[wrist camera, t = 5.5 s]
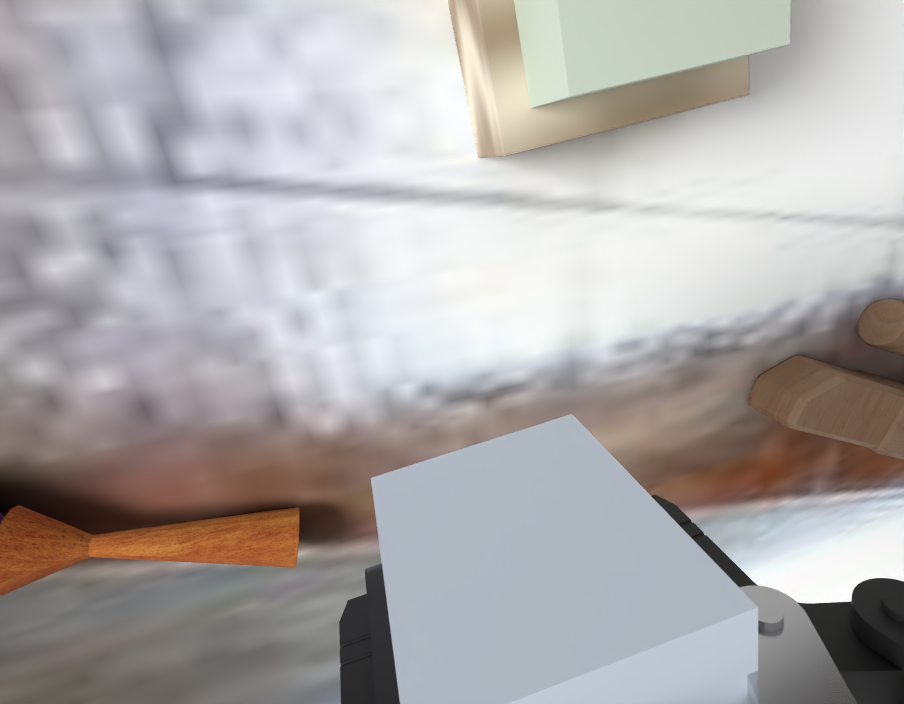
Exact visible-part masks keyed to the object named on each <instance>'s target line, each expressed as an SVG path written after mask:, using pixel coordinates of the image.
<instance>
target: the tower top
mask: <svg viewBox="0 0 904 704" xmlns="http://www.w3.org/2000/svg"><path fill="white" fill-rule="evenodd" d="M514 5H515V11H516V18H517V24H518V31H519V38H520V44H521V51H522V57H523V64H524V70H525V77H526V84H527V90H528V97H529V103H530V108H534V107H538V106H542V105H546V104H550V103H555V102H559V101H563V100H567V99H571V98H576V97H580V96H584V95H588V94H592V93H596V92H601V91H605V90H609V89H613V88H617V87H621V86H626V85H630V84H634V83H638V82H642V81H647V80H651V79H655V78H659V77H663V76H667V75H672V74H676V73H680V72H684V71H688V70H693V69H697V68H701V67H705V66H709V65H713V64H718V63H721V62H725V61H729V60H733V59H736V58H740V57H744V56H747V55H751V54H755V53H759V52H762V51H766V50H770V49H774V48H777V47H781V46H785V45H788V44H790V14H791V0H514Z"/></svg>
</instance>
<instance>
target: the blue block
mask: <svg viewBox="0 0 904 704" xmlns="http://www.w3.org/2000/svg"><path fill="white" fill-rule="evenodd" d="M371 483H372V490H373V498H374V506H375V514H376V521H377V529H378V537H379V545H380V552H381V560H382V568H383V576H384V583H385V591H386V599H387V607H388V614H389V622H390V630H391V638H392V645H393V653H394V661H395V669H396V676H397V684H398V692H399V699H400V704H751V703H750V700H749V698H748V695H747V675H748V674H750V673H752V672H755V671H757V670H758V607H757V606H756V605H755V604H754V602H753V601H752V600H751V599H750V598H749V597H748V596H747V595H746V594H745V593H744V592H743V591H742V590H741V589H740V588H739V587H738V586H737V585H736V584H735V583H734V582H733V581H732V580H731V579H730V578H729V577H728V576H727V574H726V573H725V572H724V571H723V570H722V569H721V568H720V567H719V566H718V565H717V564H716V563H715V562H714V561H713V560H712V559H711V558H710V557H709V556H708V555H707V554H706V553H705V552H704V551H703V550H702V549H701V547H700V546H699V545H698V544H697V543H696V542H695V541H694V540H693V539H692V538H691V537H690V536H689V535H688V534H687V533H686V532H685V531H684V530H683V529H682V528H681V527H680V526H679V525H678V524H677V523H676V522H675V521H674V519H673V518H672V517H671V516H670V515H669V514H668V513H667V512H666V511H665V510H664V509H663V508H662V507H661V506H660V505H659V504H658V503H657V502H656V501H655V500H654V499H653V498H652V497H651V496H650V495H649V494H648V493H647V491H646V490H645V489H644V488H643V487H642V486H641V485H640V484H639V483H638V482H637V481H636V480H635V479H634V478H633V477H632V476H631V475H630V474H629V473H628V472H627V471H626V470H625V469H624V468H623V467H622V466H621V464H620V463H619V462H618V461H617V460H616V459H615V458H614V457H613V456H612V455H611V454H610V453H609V452H608V451H607V450H606V449H605V448H604V447H603V446H602V445H601V444H600V443H599V442H598V441H597V440H596V439H595V438H594V436H593V435H592V434H591V433H590V432H589V431H588V430H587V429H586V428H585V427H584V426H583V425H582V424H581V423H580V422H579V421H578V420H577V419H576V418H575V417H574V416H573V415H572V414H570V415H567V416H564V417H561V418H558V419H555V420H552V421H548V422H545V423H542V424H539V425H536V426H533V427H530V428H526V429H523V430H520V431H517V432H514V433H511V434H508V435H504V436H501V437H498V438H495V439H492V440H489V441H486V442H483V443H479V444H476V445H473V446H470V447H467V448H464V449H461V450H457V451H454V452H451V453H448V454H445V455H442V456H439V457H435V458H432V459H429V460H426V461H423V462H420V463H417V464H414V465H410V466H407V467H404V468H401V469H398V470H395V471H392V472H388V473H385V474H382V475H379V476H376V477H373V478H371Z"/></svg>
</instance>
